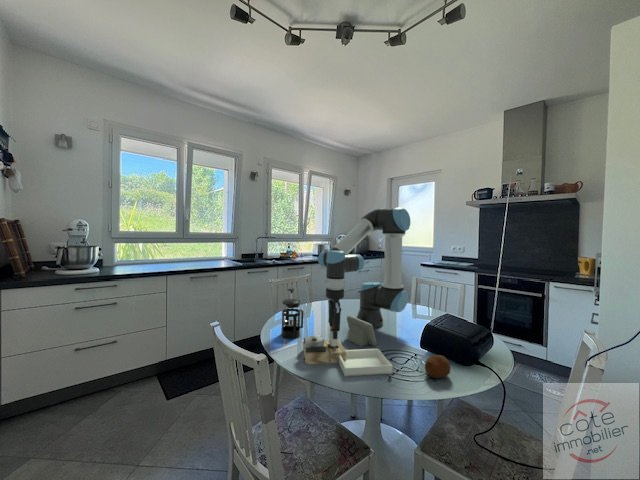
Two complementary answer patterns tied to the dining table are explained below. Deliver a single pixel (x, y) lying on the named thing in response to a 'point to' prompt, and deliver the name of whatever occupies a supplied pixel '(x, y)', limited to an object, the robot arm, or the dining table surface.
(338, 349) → the wooden holder
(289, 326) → the french press
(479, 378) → the dining table surface
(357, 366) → the tray
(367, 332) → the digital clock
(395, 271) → the robot arm
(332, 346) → the pin
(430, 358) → the potato
